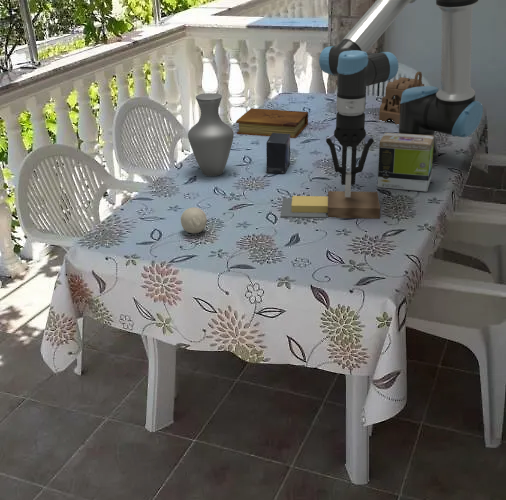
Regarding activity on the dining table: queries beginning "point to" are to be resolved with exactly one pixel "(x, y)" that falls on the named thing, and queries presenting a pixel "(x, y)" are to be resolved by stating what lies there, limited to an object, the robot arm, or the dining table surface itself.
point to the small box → (278, 153)
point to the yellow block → (310, 204)
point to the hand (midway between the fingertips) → (347, 195)
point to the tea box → (405, 161)
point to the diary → (272, 122)
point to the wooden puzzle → (396, 97)
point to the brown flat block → (353, 205)
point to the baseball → (193, 220)
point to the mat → (287, 212)
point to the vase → (210, 136)
